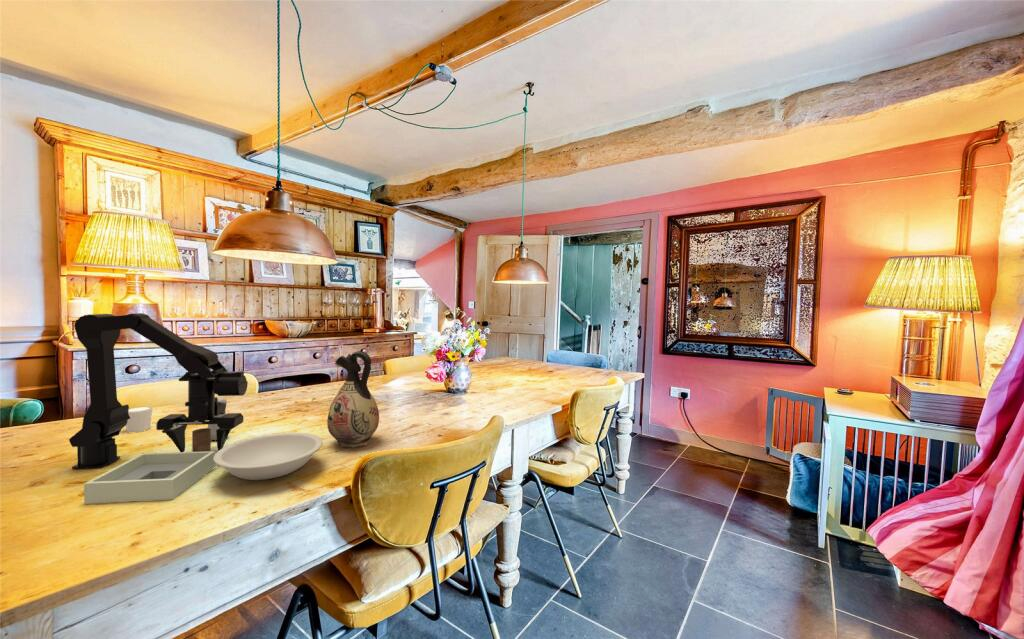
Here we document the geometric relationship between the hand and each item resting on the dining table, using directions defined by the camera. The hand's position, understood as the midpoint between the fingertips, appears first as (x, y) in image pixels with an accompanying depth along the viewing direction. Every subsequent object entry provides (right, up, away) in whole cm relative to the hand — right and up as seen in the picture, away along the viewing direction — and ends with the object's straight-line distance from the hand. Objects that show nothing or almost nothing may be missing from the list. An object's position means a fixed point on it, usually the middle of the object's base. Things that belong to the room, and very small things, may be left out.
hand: (201, 451), depth 107 cm
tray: (+1, -3, -15) cm, 15 cm away
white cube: (-38, 0, +20) cm, 43 cm away
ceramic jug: (+37, -3, +15) cm, 40 cm away
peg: (0, -2, 0) cm, 2 cm away
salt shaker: (-7, -1, +15) cm, 17 cm away
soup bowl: (+24, -3, -7) cm, 25 cm away
